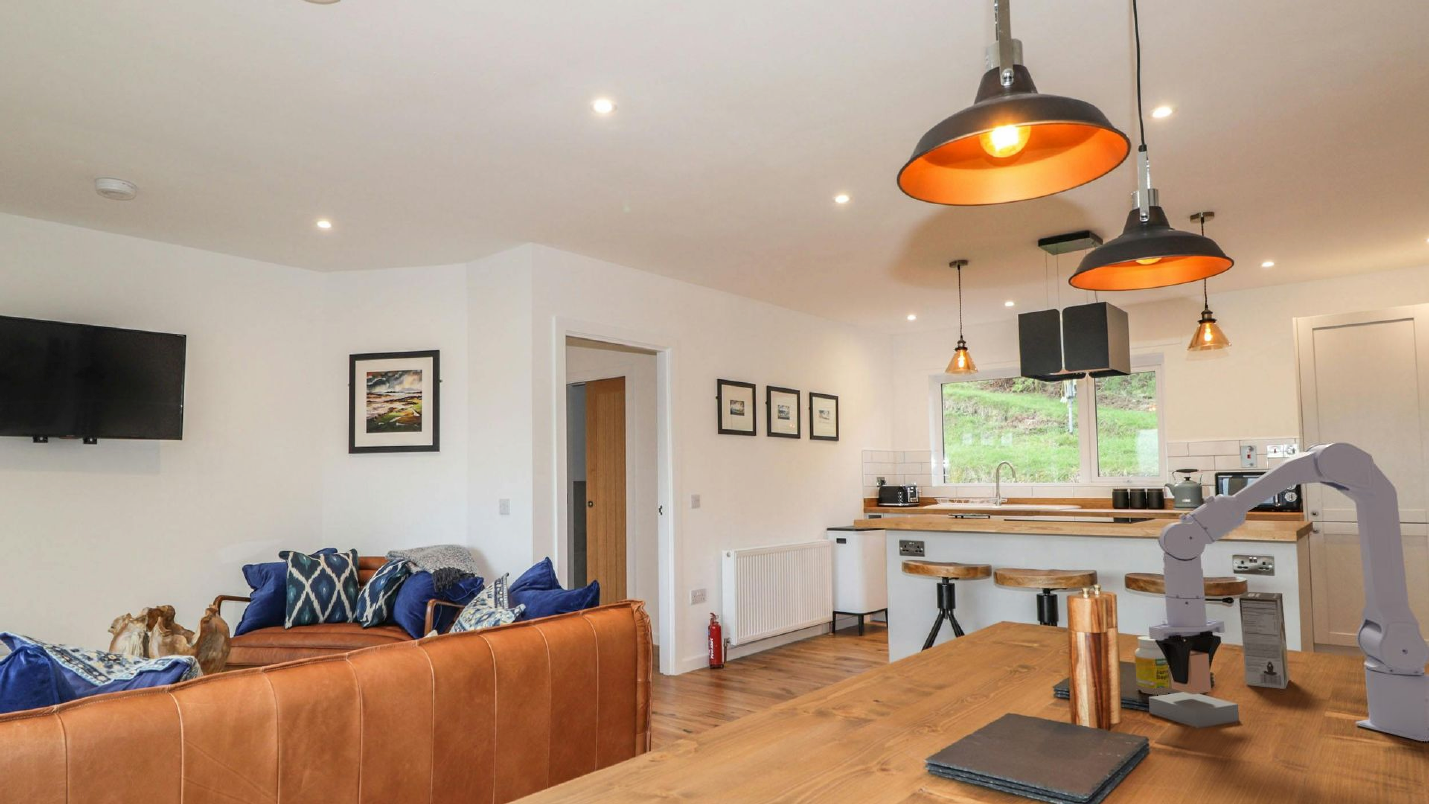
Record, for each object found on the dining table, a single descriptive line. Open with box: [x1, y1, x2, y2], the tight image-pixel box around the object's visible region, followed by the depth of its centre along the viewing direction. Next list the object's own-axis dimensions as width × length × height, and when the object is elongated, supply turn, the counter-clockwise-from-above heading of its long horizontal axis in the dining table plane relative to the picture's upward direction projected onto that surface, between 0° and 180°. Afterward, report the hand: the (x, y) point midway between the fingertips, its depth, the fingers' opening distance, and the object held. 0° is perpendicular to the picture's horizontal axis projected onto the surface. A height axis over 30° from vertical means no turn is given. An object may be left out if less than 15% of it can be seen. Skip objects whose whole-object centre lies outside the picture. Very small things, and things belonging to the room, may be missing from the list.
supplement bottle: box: [1134, 635, 1171, 688], centre depth 154 cm, size 5×5×10 cm
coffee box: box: [1238, 591, 1290, 690], centre depth 159 cm, size 9×6×16 cm
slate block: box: [1148, 691, 1240, 729], centre depth 138 cm, size 9×9×3 cm
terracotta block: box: [1169, 650, 1212, 694], centre depth 138 cm, size 4×4×6 cm
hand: (1190, 681), depth 138 cm, fingers closed on terracotta block, 4 cm apart
